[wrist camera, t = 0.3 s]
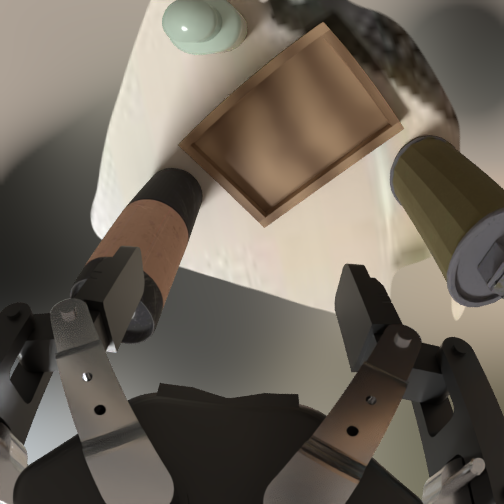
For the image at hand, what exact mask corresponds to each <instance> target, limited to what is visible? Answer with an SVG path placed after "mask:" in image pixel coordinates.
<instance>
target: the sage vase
mask: <svg viewBox="0 0 504 504" xmlns="http://www.w3.org/2000/svg"><path fill="white" fill-rule="evenodd" d="M162 26H163V29H164V31H165V33H166V34H167V35H168V36H169V38H170V40H171V41H172V43H173V44H174V45H175V46H176V47H177V48H178V49H180V50H181V51H183V52H186V53H189V54H193V55H205V54H212V53H221V52H228V51H231V50H233V49H235V48H237V47H238V46H239V45H240V44H241V43H242V42H243V41H244V39H245V37H246V34H247V23H246V20H245V19H244V17H243V16H242V15H241V14H240V13H239V12H238V11H237V10H236V9H235V8H234V7H233V6H232V5H231V4H230V3H229V2H228V1H227V0H176V1H174V2H173V3H172V4H170V5H169V6H168V8H167V9H166V10H165V12H164V15H163V18H162Z"/></svg>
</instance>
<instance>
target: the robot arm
mask: <svg viewBox="0 0 504 504" xmlns="http://www.w3.org/2000/svg"><path fill="white" fill-rule="evenodd" d="M144 284H145V282H144V272H143V264H142V255H141V250H140V248H139V247H132V246H120V247H119V249H118V250H117V252H116V253H115V254H114V256H113V257H107V258H106V259H104V260H103V261H101V262H100V263H99V264H98V265H97V266H96V268H95V269H94V270H93V272H92V273H91V275H90V276H89V279H87V280H86V281H85V283H84V284H83V286H82V287H81V289H80V290H79V291H78V293H77V294H76V296H75V297H74V298H71V299H66V300H63V301H61V302H59V303H57V304H56V305H55V306H54V307H53V308H52V310H51V312H50V313H44V314H32V311H31V308H30V307H29V305H28V304H26V303H22V302H17V303H13V304H11V305H9V306H7V307H5V308H4V309H3V310H2V311H1V313H0V503H3V504H504V416H503V414H502V411H501V409H500V407H499V404H498V402H497V399H496V397H495V395H494V393H493V390H492V388H491V386H490V384H489V382H488V380H487V377H486V375H485V373H484V371H483V369H482V367H481V365H480V363H479V361H478V359H477V357H476V355H475V353H474V351H473V349H472V347H471V346H470V345H469V344H468V343H467V342H465V341H464V340H462V339H460V338H456V337H449V338H446V339H445V340H444V341H443V343H442V345H441V347H439V346H434V345H430V344H425V343H422V341H421V338H420V336H419V334H418V333H417V332H416V331H415V330H414V329H412V328H410V327H408V326H406V325H403V324H402V322H401V320H400V318H399V316H398V314H397V312H396V310H395V308H394V306H393V304H392V303H391V300H390V298H389V296H388V294H387V292H386V290H385V288H384V286H383V285H382V284H381V283H380V282H379V281H378V280H377V279H376V278H370V276H369V274H368V272H367V270H366V268H365V266H364V265H357V264H345V265H344V267H343V270H342V274H341V278H340V281H339V285H338V289H337V292H336V296H335V312H336V315H337V319H338V323H339V326H340V330H341V333H342V337H343V341H344V344H345V348H346V352H347V356H348V360H349V364H350V368H351V372H357V373H356V375H355V376H354V378H353V379H352V381H351V382H350V384H349V386H348V387H347V389H346V390H345V391H344V393H343V394H342V396H341V397H340V398H339V400H338V401H337V403H336V404H335V405H334V407H333V408H332V410H331V411H330V412H329V414H328V415H327V416H326V415H324V414H323V413H321V412H319V411H318V410H315V409H313V408H311V407H308V406H304V405H301V404H299V399H298V394H270V393H269V394H268V393H263V394H257V395H250V396H243V397H236V398H225V397H221V396H218V395H215V394H212V393H209V392H205V391H202V390H199V389H196V388H193V387H186V386H178V385H170V384H163V383H160V385H159V388H158V392H157V393H150V394H144V395H140V396H137V397H135V398H132V399H130V400H127V398H126V396H125V394H124V392H123V390H122V388H121V386H120V384H119V381H118V379H117V377H116V375H115V372H114V370H113V368H112V366H111V363H110V361H109V359H108V356H107V354H106V351H109V352H115V353H117V351H118V348H119V346H120V343H121V342H122V339H123V337H124V335H125V332H126V330H127V328H128V326H129V323H130V321H131V319H132V317H133V315H134V312H135V310H136V308H137V306H138V304H139V302H140V300H141V297H142V295H143V292H144ZM16 358H18V359H19V363H18V365H17V367H16V368H15V370H14V372H13V374H12V376H11V378H10V370H11V367H12V365H13V364H14V362H15V360H16ZM54 371H59V374H60V377H61V381H62V385H63V388H64V392H65V395H66V398H67V402H68V405H69V408H70V411H71V415H72V418H73V421H74V423H75V427H76V429H77V432H78V434H77V435H75V436H74V437H72V438H71V439H69V440H67V441H66V442H64V443H63V444H61V445H60V446H58V447H57V448H55V449H54V450H52V451H50V452H49V453H47V454H46V455H44V456H43V457H41V458H39V459H38V460H36V461H35V462H33V463H31V464H30V465H29V466H28V464H27V459H28V458H27V457H28V456H27V451H26V449H25V447H24V443H25V441H26V438H27V435H28V432H29V430H30V427H31V424H32V422H33V419H34V416H35V414H36V411H37V409H38V406H39V404H40V401H41V399H42V397H43V394H44V392H45V389H46V387H47V385H48V383H49V380H50V378H51V376H52V373H53V372H54ZM448 395H450V396H451V399H452V402H453V405H454V413H453V410H452V407H451V404H450V402H449V399H448ZM402 399H406V400H411V401H412V405H413V409H414V412H415V416H416V420H417V424H418V428H419V432H420V436H421V440H422V444H423V449H424V453H425V458H426V462H427V467H428V472H429V477H430V478H429V479H428V480H427V482H426V483H425V485H424V489H423V497H422V499H421V500H420V499H419V498H418V497H417V496H416V495H415V494H414V493H413V492H412V491H410V490H409V489H408V488H407V487H406V486H404V485H403V484H402V483H401V482H400V481H399V480H397V479H396V478H395V477H394V476H393V475H392V474H391V473H389V472H388V471H387V470H386V469H385V468H384V467H383V466H381V465H380V464H379V463H378V462H377V461H376V460H375V459H374V458H372V456H373V454H374V453H375V451H376V449H377V447H378V445H379V444H380V442H381V440H382V438H383V436H384V434H385V432H386V430H387V428H388V426H389V424H390V422H391V420H392V418H393V416H394V414H395V412H396V410H397V408H398V406H399V404H400V402H401V400H402Z"/></svg>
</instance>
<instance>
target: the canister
mask: <svg viewBox="0 0 504 504" xmlns="http://www.w3.org/2000/svg"><path fill="white" fill-rule="evenodd" d="M390 186H391V190H392V193H393V195H394V197H395V199H396V200H397V201H398V202H399V204H400V205H402V206H403V208H404V209H405V211H406V212H407V214H408V216H409V217H410V219H411V220H412V222H413V224H414V225H415V227H416V229H417V230H418V232H419V233H420V235H421V237H422V239H423V240H424V242H425V244H426V245H427V247H428V249H429V251H430V252H431V254H432V256H433V258H434V259H435V261H436V263H437V265H438V266H439V268H440V270H441V272H442V274H443V276H444V278H445V280H446V282H447V287H448V290H449V293H450V295H451V296H452V298H453V299H454V300H455V301H456V302H458V303H459V304H460V305H463V306H467V307H480V306H484V305H488V304H491V303H494V302H496V301H498V300H499V299H501V298H503V299H504V190H503V188H501V187H500V186H499V185H498V184H497V183H496V182H495V181H494V180H492V179H491V178H490V177H489V176H488V175H487V174H486V173H484V172H483V171H482V170H481V169H480V168H479V167H477V166H476V165H475V164H474V163H472V162H471V161H470V160H469V159H467V158H466V157H465V156H464V155H462V154H461V153H460V152H459V151H457V150H456V149H455V148H454V146H453V145H452V144H450V143H449V142H448V141H446V140H444V139H442V138H440V137H437V136H424V137H419V138H416V139H414V140H413V141H411V142H409V143H408V144H407V145H405V146H404V147H403V148H402V149H401V150H400V151H399V153H398V155H397V156H396V158H395V160H394V163H393V165H392V168H391V172H390Z"/></svg>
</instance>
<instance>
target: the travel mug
mask: <svg viewBox="0 0 504 504" xmlns="http://www.w3.org/2000/svg"><path fill="white" fill-rule="evenodd" d="M201 202H202V191H201V188H200V185H199V183H198V182H197V180H196V179H195V178H194V177H193V176H192V175H191V174H189V173H188V172H186V171H184V170H181V169H176V168H168V169H164V170H161V171H159V172H158V173H156V174H155V175H154V176H153V177H152V178H151V179H150V180H149V181H148V182H147V183H146V184H145V186H144V187H143V188H142V189H141V190H140V191H139V192H138V193H137V195H136V196H135V197H134V198H133V199H132V200H131V202H130V203H129V204H128V205H127V206H126V208H125V209H124V210H123V211H122V213H121V214H120V215H119V217H118V218H117V220H116V221H115V222H114V224H113V225H112V227H111V228H110V229H109V231H108V232H107V234H106V235H105V237H104V238H103V239H102V241H101V242H100V244H99V245H98V247H97V248H96V250H95V251H94V253H93V254H92V256H91V257H90V259H89V260H88V262H87V263H86V265H85V267H84V268H83V270H82V271H81V273H80V274H79V276H78V277H77V279H76V281H75V282H74V284H73V286H72V288H71V292H70V299H71V298H74V297H75V296H76V294H77V293H78V291H79V290H80V289H81V287H82V286H83V284H84V283H85V281H86V280H87V279H89V276H90V275H91V273H92V272H93V270H94V269H95V268H96V266H97V265H98V264H99V263H100V262H101V261H103V260H104V259H106V258H107V257H113V256H114V254H115V253H116V252H117V250H118V249H119V247H120V246H132V247H139V248H140V250H141V255H142V264H143V272H144V282H145V284H144V292H143V295H142V297H141V300H140V302H139V304H138V306H137V308H136V310H135V312H134V315H133V317H132V319H131V321H130V323H129V326H128V328H127V330H126V332H125V335H124V337H123V339H122V342H121V343H126V344H136V343H140V342H143V341H146V340H147V339H149V338H150V337H151V336H152V334H153V333H154V331H155V329H156V326H157V323H158V321H159V318H160V315H161V312H162V309H163V307H164V304H165V301H166V299H167V296H168V293H169V290H170V288H171V285H172V283H173V280H174V278H175V275H176V272H177V270H178V267H179V265H180V262H181V260H182V257H183V255H184V252H185V250H186V247H187V244H188V241H189V238H190V235H191V232H192V229H193V226H194V223H195V220H196V217H197V215H198V212H199V209H200V206H201Z"/></svg>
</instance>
